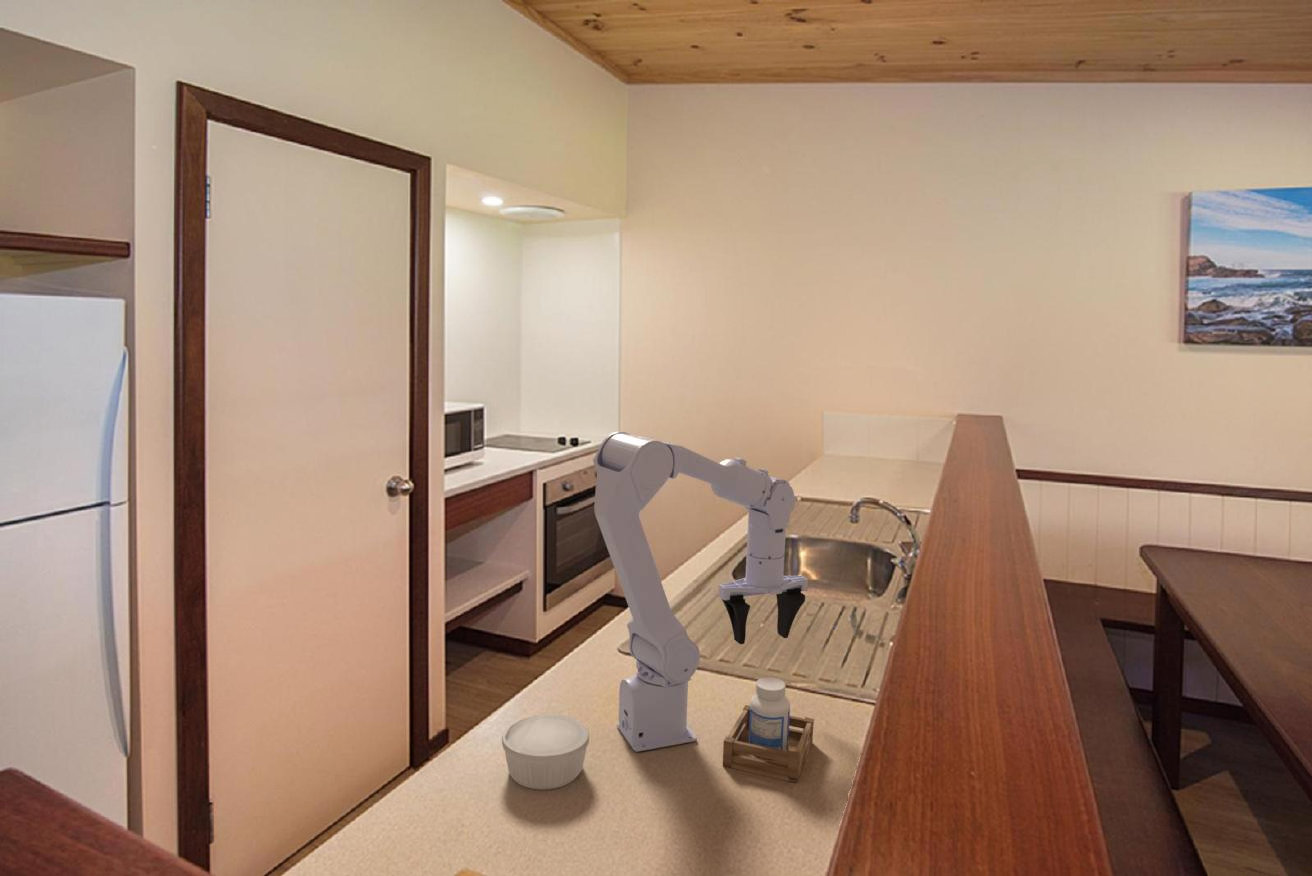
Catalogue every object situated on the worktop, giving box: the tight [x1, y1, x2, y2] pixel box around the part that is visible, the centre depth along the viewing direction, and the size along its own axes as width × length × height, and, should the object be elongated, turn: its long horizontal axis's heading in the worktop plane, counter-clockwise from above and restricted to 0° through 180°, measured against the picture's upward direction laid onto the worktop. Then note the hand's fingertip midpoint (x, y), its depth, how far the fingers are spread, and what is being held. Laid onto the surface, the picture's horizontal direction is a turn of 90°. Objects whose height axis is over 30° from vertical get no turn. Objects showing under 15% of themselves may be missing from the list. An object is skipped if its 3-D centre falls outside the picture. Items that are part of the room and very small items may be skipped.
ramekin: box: [501, 713, 590, 791], centre depth 106 cm, size 11×11×5 cm
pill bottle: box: [749, 676, 791, 759], centre depth 111 cm, size 6×5×10 cm
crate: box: [722, 704, 815, 784], centre depth 111 cm, size 11×10×4 cm
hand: (761, 638), depth 125 cm, fingers open, 7 cm apart
